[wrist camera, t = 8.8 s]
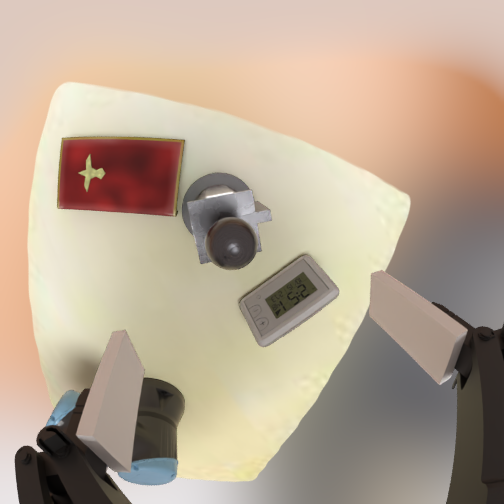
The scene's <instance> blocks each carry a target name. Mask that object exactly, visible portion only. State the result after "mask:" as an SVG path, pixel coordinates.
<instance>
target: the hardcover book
mask: <svg viewBox="0 0 504 504" xmlns="http://www.w3.org/2000/svg"><path fill="white" fill-rule="evenodd" d="M184 141H185V140H177V139H163V138H144V137H70V138H62V142H61V151H60V161H59V174H58V197H57V208H58V209H75V210H93V211H108V212H123V213H137V214H150V215H162V216H174V217H176V216H177V212H178V211H176V207H177V197H178V188H179V179H180V171H181V163H182V155H183V148H184Z"/></svg>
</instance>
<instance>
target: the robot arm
mask: <svg viewBox="0 0 504 504" xmlns="http://www.w3.org/2000/svg"><path fill="white" fill-rule="evenodd" d="M369 316H370V317H371V318H372V319H373V320H375V321H376V323H378V324H379V325H380V326H381V327H382V328H383V329H384V330H385V331H386V332H387V333H388V334H389V335H390V336H391V337H392V338H393V339H394V340H395V341H396V342H397V343H398V344H399V345H400V346H401V347H402V348H403V349H404V350H405V351H406V352H407V353H408V354H409V355H410V356H411V357H412V358H413V359H414V360H415V361H416V362H417V363H418V364H419V365H420V366H421V367H422V368H423V369H424V370H425V371H426V372H427V373H428V374H429V375H430V376H431V377H432V378H433V379H434V380H435V381H436V382H437V383H438V384H439V385H441V384H442V383H443V382H445V381H447V380H448V379H449V378H451V376H452V373H453V371H454V368H455V369H456V370H457V371H458V374H457V377H456V379H455V381H454V383H453V386H452V389H454V388H455V385H456V384H457V432H456V445H455V455H454V463H453V470H452V477H451V483H450V488H449V493H448V498H447V502H446V504H504V324H503V327H502V329H498V330H495V331H493V330H492V329H490V328H488V327H483V326H482V327H478V328H476V329H475V328H473V327H472V326H471V325H469V324H468V323H467V322H465V321H464V320H462V319H461V318H460V317H458V316H457V315H455V314H454V313H453V312H451V311H449V310H448V309H447V308H445V307H444V306H443V305H440V304H437V303H435V302H432V303H430V302H429V301H427V300H426V299H424V298H423V297H421V296H420V295H419V294H417V293H416V292H414V291H413V290H411V289H410V288H408V287H407V286H405V285H404V284H402V283H401V282H399V281H398V280H396V279H395V278H393V277H392V276H390V275H389V274H387V273H386V272H384V271H383V270H381V271H377V272H374V273H371V290H370V309H369ZM144 371H145V369H144V367H143V365H142V363H141V361H140V359H139V357H138V355H137V353H136V351H135V349H134V347H133V345H132V343H131V341H130V338H129V336H128V334H127V332H126V330H122V331H116V332H113V333H112V335H111V338H110V340H109V342H108V345H107V347H106V350H105V352H104V355H103V357H102V360H101V362H100V365H99V367H98V370H97V373H96V375H95V378H94V381H93V384H92V386H91V389H84V390H83V392H82V393H81V394H80V393H78V392H76V391H73V390H69V391H67V392H66V393H65V394H64V395H63V396H62V398H61V399H60V401H59V402H58V404H57V405H56V407H55V409H54V410H53V412H52V415H51V416H50V419H49V420H48V422H47V424H46V426H45V427H44V428H43V429H42V430H41V431H40V432H39V434H38V436H37V440H36V441H37V445H38V446H39V447H40V448H41V449H42V450H43V451H44V452H40V453H38V452H37V451H35V450H34V449H33V448H32V447H30V446H23V447H21V448H20V449H19V450H18V451H17V453H16V455H15V471H16V482H17V490H18V497H19V503H20V504H132V503H131V502H130V501H129V500H128V499H127V497H126V496H125V495H124V494H123V492H122V491H121V490H120V489H119V487H118V486H117V485H116V484H115V482H114V481H113V479H112V478H111V477H110V475H108V474H107V473H106V470H107V468H108V467H109V468H111V469H112V470H113V471H114V472H118V475H119V477H121V478H123V479H124V480H126V481H128V482H131V483H135V484H140V485H162V484H166V483H169V482H171V481H173V480H174V479H175V478H176V475H177V465H178V460H177V426H178V424H179V422H180V419H181V417H182V415H183V413H184V404H185V402H184V397H183V395H182V394H181V393H180V391H179V390H178V389H176V388H175V387H174V386H172V385H170V384H168V383H166V382H164V381H161V380H157V379H150V378H143V377H144Z"/></svg>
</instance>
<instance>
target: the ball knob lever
mask: <svg viewBox="0 0 504 504" xmlns="http://www.w3.org/2000/svg"><path fill="white" fill-rule="evenodd" d="M257 248H258V239H257V235H256V232H255V231H254V229H253V227H252V226H251V225H250V224H249V223H247V222H246V221H244V220H243V219H240V218H236V217H227V218H223V219H220V220H215V223H214V224H213V225H212V226H211V228H210V229H209V230H208V232H207V235H206V239H205V249H206V252H207V255H208V257H209V258H210V260H211V261H212V262H213V263H214V264H215V265H217V266H218V267H220V268H223V269H226V270H237V269H241V268H243V267H245V266H246V265H248V264H249V263H250V262H251V261H252V260H253V258H254V257H255V255H256V252H257Z"/></svg>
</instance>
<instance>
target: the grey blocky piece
mask: <svg viewBox="0 0 504 504" xmlns="http://www.w3.org/2000/svg"><path fill="white" fill-rule="evenodd" d="M187 205H188V210H189V214H190V219H191V225H192V230H193V234H194V238H195V243H196V246H197V250H198V254H199V259H200V263H201V264H204V263H208V262H212V261H211V260H210V258H209V257H208V255H207V252H206V249H205V239H206V235H207V232H208V230H209V229H210V228H211V226H212V225H213V224H214V223H215V220H220V219H223V218H227V217H236V218H240V219H243V220H244V221H246V222H247V223H249V224H250V225H251V226H252V227H253V229H254V231H255V232H256V235H257V239H258V248H257V252H260V251H262V250H261V244H260V237H259V231H258V225H257V223H261V222H267V221H272V218H271V211H270V209H268V208H267V207H266V206H264V205H263V204H261V203H260V202H258V201H256V202H254V200H253V193H252V190H251V189H250V190H245V191H239V192H237V191H236V190H235V189H234V188H232V187H230V186H228V185H223V184H215V185H211V186H208V187H207V188H205V189H203V190H202V191H201V192H200V193H199V194H198V196H197V197H196V199H195V200H194V201H190V202H187Z"/></svg>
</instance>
